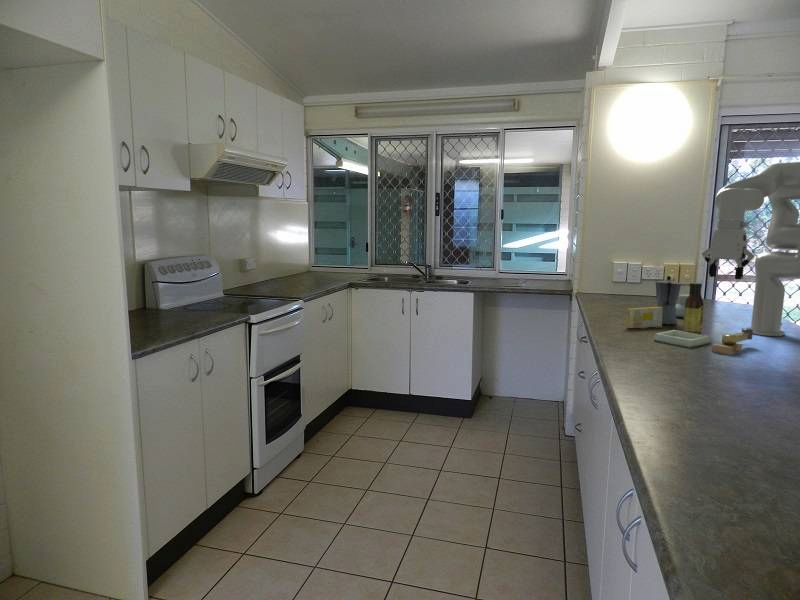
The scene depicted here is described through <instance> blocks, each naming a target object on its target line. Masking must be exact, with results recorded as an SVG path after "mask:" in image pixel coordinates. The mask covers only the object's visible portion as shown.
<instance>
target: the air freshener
mask: <svg viewBox="0 0 800 600" xmlns="http://www.w3.org/2000/svg"><path fill="white" fill-rule="evenodd" d="M689 295H690V294H679V296H678V300H677V303H676V305H675V306H676V318H680V317H681V318H680V319H684V311H685V302H686V299H687V298H688V296H689Z"/></svg>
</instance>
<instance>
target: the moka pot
mask: <svg viewBox="0 0 800 600" xmlns="http://www.w3.org/2000/svg"><path fill="white" fill-rule="evenodd" d="M666 278H667V279H665V280H659V281H658V280H657V281H655V291H656V292H655V297H656V301H657V302H656V303H657V304H656V307H663V311H662V325H676V324H677V323H678V322H677V316H676V306H675V305H676V304H677V302H678V298H679V295H680V291H681V287H682V283H680V282H677V281H675V280H671V278H672V276H670V275H668V276H667V277H666Z"/></svg>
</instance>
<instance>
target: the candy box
mask: <svg viewBox="0 0 800 600" xmlns="http://www.w3.org/2000/svg"><path fill="white" fill-rule="evenodd" d="M662 311H663V307H657V306H653V307H635V308H627V310H626V312H627V313H626V317H627V318H626V329H627V328H641V329H648V328H647V327H656V328H662V327H663V324H662Z"/></svg>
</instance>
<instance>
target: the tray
mask: <svg viewBox="0 0 800 600" xmlns="http://www.w3.org/2000/svg"><path fill="white" fill-rule="evenodd" d="M683 331H684V330H677V329H672V330H667V331H662V332H661V331H660V332H658V333H656V332H655V333H654V340H656V341H655V342H659V341H660V342H659V343H664V342H665V344H670V345H673V346H674V345H675V346H680V347H686V348H695V347H700V346H704V345H708V344H710V340H711V336H710V335H705V334H701V335H700V334H695V333H689V332H683ZM654 340H653V341H654Z"/></svg>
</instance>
